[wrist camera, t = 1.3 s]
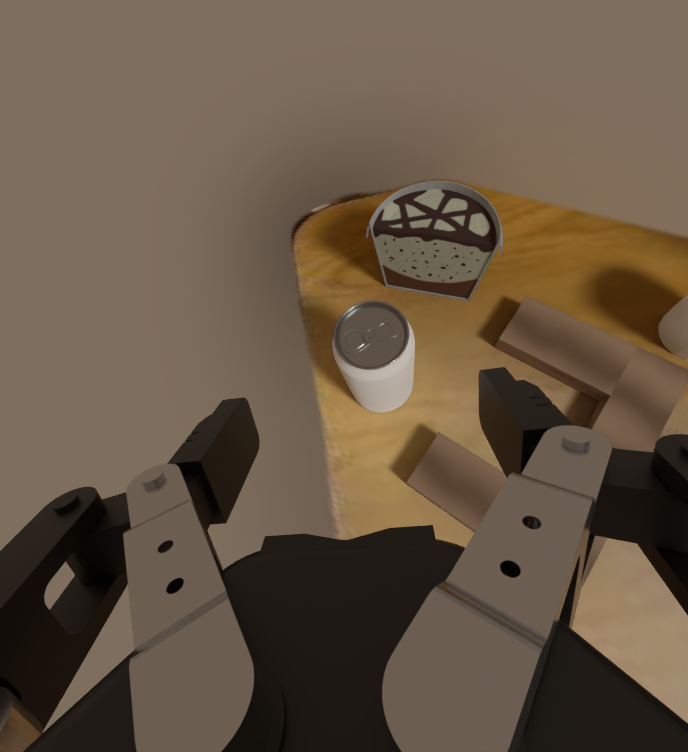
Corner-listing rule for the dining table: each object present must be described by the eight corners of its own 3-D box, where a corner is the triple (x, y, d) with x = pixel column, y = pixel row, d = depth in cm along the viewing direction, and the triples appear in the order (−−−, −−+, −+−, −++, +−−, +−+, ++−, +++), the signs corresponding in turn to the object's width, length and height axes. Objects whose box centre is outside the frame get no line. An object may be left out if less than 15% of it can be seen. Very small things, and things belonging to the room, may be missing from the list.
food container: (493, 256, 41) (519, 182, 31) (483, 303, 39) (507, 241, 30) (387, 241, 44) (381, 169, 34) (373, 284, 42) (363, 222, 33)
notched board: (520, 306, 38) (526, 295, 36) (676, 379, 33) (692, 371, 31) (406, 483, 34) (406, 482, 32) (564, 595, 29) (574, 601, 28)
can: (343, 366, 39) (318, 311, 28) (400, 346, 39) (397, 283, 28) (361, 422, 37) (341, 387, 26) (422, 402, 36) (428, 357, 25)
